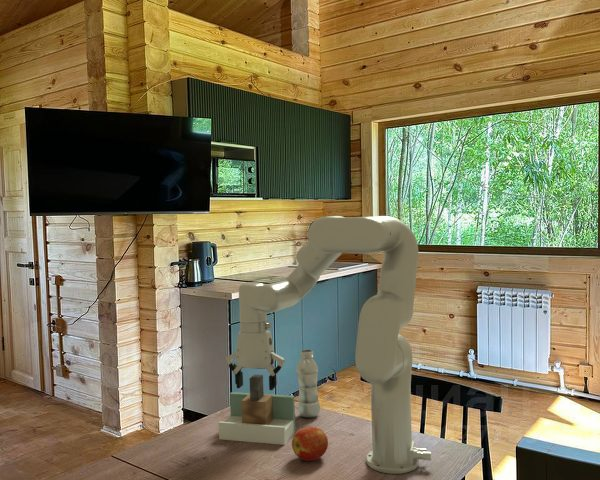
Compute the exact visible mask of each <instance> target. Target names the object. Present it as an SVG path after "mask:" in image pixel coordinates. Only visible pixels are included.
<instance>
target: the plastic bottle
mask: <svg viewBox="0 0 600 480" xmlns="http://www.w3.org/2000/svg"><path fill="white" fill-rule="evenodd" d="M300 358H301V359H300V360H299V362H298V363H297V366H296V375H297V380H298V389H299V391H298V403H297V404H298V405H297V410H298V414H299V415H300V416H301V417H302V418H315V417H318V416H319V414H320V410H321V407H320V406H321V405H320V401H319V394H318V386H317V385H318V372H319V367H318V363H316V361H315V360H314V359H313V358H314V351H313V350H312V349H302V350H300Z"/></svg>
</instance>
